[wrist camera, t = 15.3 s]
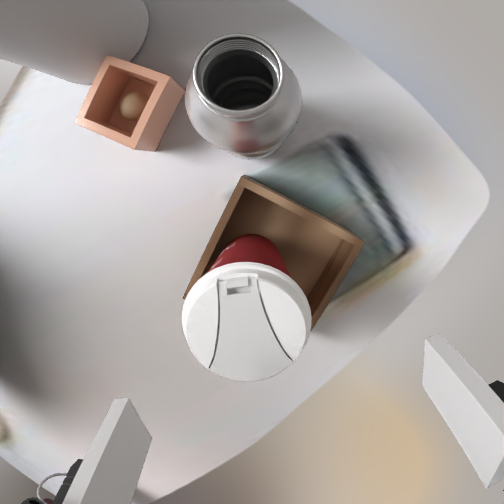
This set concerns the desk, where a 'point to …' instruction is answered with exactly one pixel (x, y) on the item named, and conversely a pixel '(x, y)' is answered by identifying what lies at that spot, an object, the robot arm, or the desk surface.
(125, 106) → the cork ball
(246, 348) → the coffee cup
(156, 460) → the desk surface
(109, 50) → the cylinder vase
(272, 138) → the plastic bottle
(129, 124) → the planter
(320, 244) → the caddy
